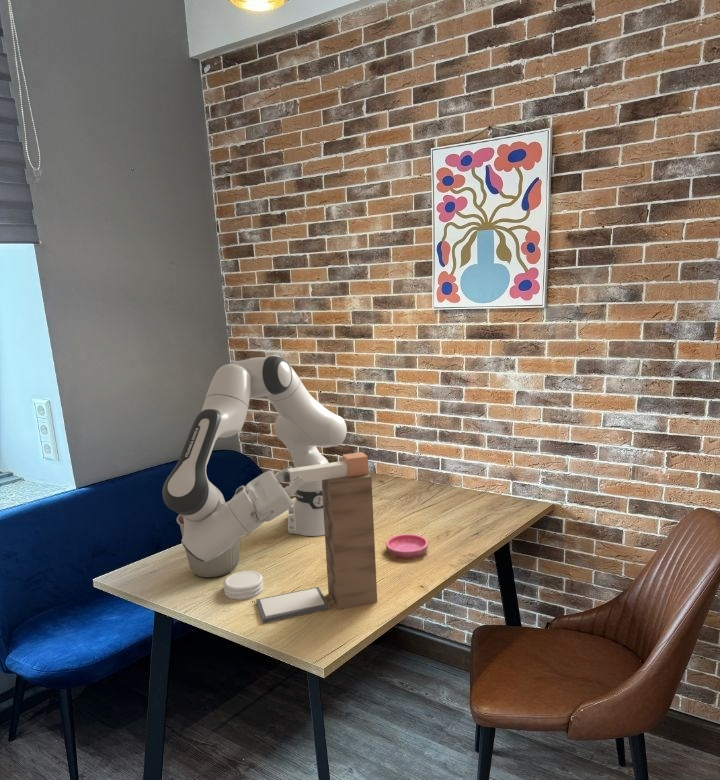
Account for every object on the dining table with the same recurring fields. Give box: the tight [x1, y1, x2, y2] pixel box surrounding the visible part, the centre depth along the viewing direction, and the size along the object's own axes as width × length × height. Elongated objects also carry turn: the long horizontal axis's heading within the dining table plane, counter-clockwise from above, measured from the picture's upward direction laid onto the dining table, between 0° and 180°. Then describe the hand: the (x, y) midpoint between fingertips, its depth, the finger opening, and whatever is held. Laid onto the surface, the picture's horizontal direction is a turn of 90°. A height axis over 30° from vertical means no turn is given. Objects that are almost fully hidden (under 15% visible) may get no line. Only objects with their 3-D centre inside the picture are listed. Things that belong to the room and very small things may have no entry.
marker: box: [283, 451, 370, 485], centre depth 142 cm, size 4×20×4 cm, turn 109°
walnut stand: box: [322, 473, 378, 611], centre depth 146 cm, size 9×10×32 cm
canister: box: [176, 501, 241, 578], centre depth 167 cm, size 18×18×21 cm
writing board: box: [255, 586, 330, 624], centre depth 146 cm, size 10×16×1 cm, turn 109°
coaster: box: [223, 570, 264, 601], centre depth 155 cm, size 10×10×4 cm
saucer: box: [385, 533, 429, 560], centre depth 173 cm, size 12×12×3 cm
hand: (297, 473), depth 140 cm, fingers open, 8 cm apart
